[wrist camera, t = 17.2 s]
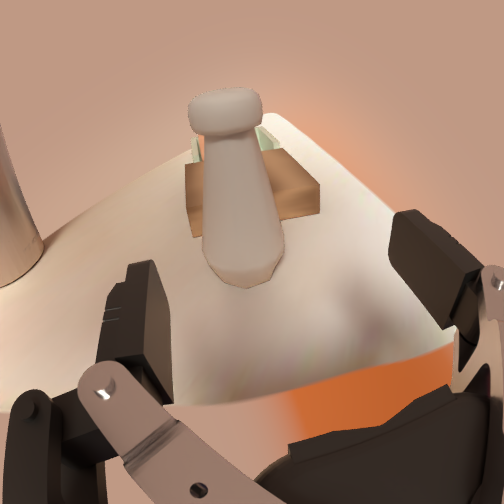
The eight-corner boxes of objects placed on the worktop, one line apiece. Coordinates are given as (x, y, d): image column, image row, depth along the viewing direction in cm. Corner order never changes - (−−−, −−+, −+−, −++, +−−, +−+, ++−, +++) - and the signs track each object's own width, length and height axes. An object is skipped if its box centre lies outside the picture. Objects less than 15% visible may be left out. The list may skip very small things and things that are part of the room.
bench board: (193, 237, 29) (186, 207, 27) (189, 187, 38) (184, 164, 37) (319, 213, 30) (319, 184, 28) (284, 170, 39) (282, 148, 38)
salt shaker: (212, 303, 21) (167, 105, 14) (206, 255, 26) (173, 94, 18) (296, 286, 22) (285, 88, 14) (275, 242, 27) (261, 81, 19)
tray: (197, 184, 39) (192, 157, 37) (194, 159, 47) (190, 138, 45) (283, 169, 40) (281, 143, 38) (264, 147, 48) (262, 126, 46)
